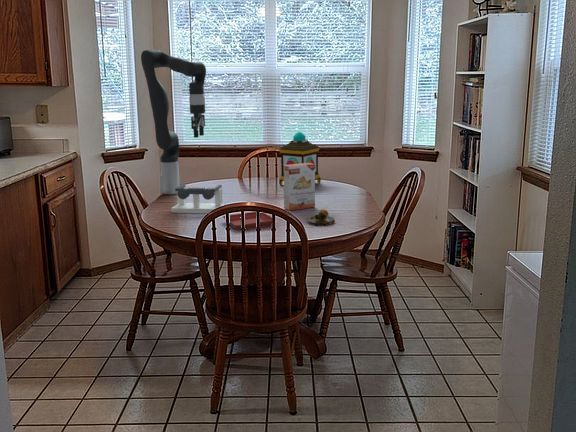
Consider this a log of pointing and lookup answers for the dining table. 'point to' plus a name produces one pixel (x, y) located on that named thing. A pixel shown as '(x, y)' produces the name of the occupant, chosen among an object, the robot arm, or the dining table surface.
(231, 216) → the plant saucer
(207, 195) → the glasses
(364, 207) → the dining table surface
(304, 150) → the decorative lantern
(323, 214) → the small succulent plant
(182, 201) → the display stand
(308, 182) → the cracker box
